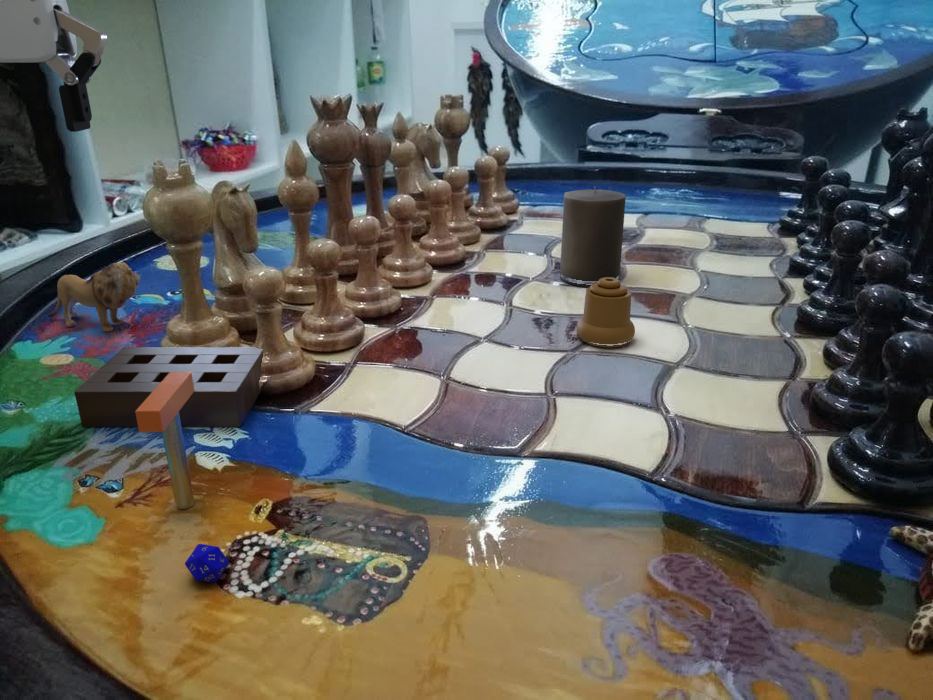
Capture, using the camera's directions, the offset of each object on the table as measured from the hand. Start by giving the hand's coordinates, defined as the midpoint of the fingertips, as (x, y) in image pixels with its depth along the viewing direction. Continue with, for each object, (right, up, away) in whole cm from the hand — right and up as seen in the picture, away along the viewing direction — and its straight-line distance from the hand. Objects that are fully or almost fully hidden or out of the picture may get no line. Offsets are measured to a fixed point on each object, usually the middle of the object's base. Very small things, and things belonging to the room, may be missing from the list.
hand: (27, 130), depth 68 cm
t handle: (+17, -33, -6) cm, 38 cm away
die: (+22, -37, -15) cm, 46 cm away
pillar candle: (+61, -9, +52) cm, 80 cm away
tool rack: (+10, -26, +11) cm, 30 cm away
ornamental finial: (+59, -19, +28) cm, 68 cm away
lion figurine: (-10, -17, +33) cm, 38 cm away
